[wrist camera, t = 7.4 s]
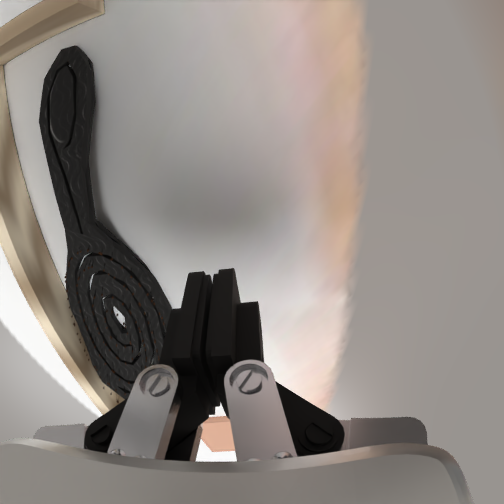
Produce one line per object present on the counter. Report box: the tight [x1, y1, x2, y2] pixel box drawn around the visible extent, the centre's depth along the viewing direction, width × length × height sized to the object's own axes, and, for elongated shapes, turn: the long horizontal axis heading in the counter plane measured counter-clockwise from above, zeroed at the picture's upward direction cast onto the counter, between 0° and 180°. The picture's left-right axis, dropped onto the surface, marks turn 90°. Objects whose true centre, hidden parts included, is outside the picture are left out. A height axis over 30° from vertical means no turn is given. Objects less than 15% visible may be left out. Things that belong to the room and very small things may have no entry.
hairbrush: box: [39, 46, 172, 403], centre depth 17 cm, size 8×4×25 cm
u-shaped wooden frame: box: [0, 0, 125, 415], centre depth 17 cm, size 30×9×3 cm, turn 7°
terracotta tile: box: [201, 416, 235, 452], centre depth 28 cm, size 7×7×1 cm
